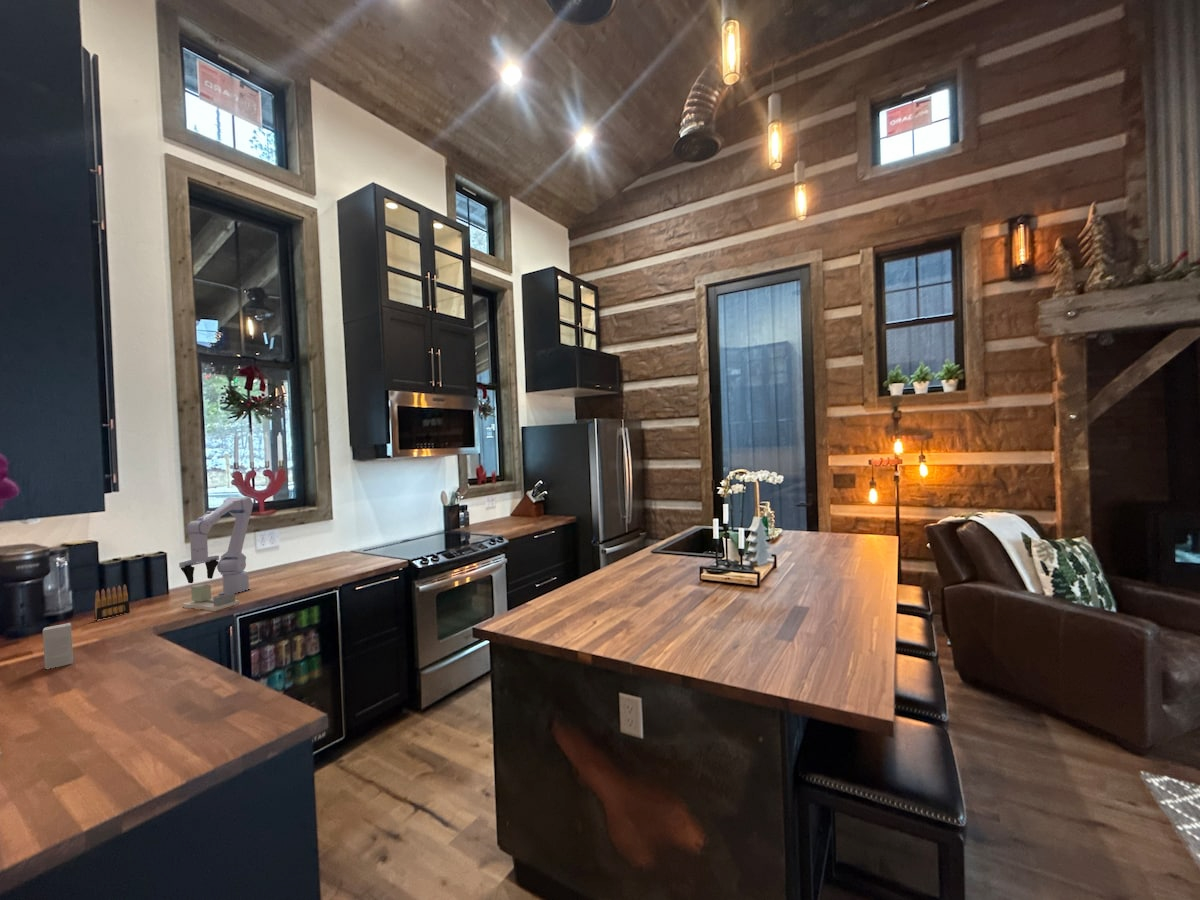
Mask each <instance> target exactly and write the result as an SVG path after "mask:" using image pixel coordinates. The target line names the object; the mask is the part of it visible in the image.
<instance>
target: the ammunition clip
mask: <svg viewBox="0 0 1200 900" xmlns="http://www.w3.org/2000/svg"><path fill="white" fill-rule="evenodd" d="M127 588H128V587H127V585H126V584H125V583H124V584H123V587H121V586H120V585H118V587H117V589H116V587H115V586H113V587H112V588H110V587H107V589H106V591H105V589H104V588H102V589H101V591H100V592H101V593H100V592H99V590H98V589H96V591H95V595H94V596H95V600H94V615H93V616H94V617H93V618H94V619H97V620H98V619H103V618H108V617H112V616H116V615H120V614H124V613H127V614H129V613H128V612H130V613H131V611H130V601H129V594H128V589H127ZM111 589H112V590H111ZM116 590H117V591H116ZM124 615H125V614H124ZM120 616H121V615H120ZM116 617H117V616H116ZM112 618H113V617H112ZM94 619H93V620H94ZM108 619H109V618H108Z"/></svg>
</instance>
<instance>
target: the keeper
mask: <svg viewBox="0 0 1200 900" xmlns="http://www.w3.org/2000/svg"><path fill="white" fill-rule="evenodd" d="M190 590H191V591H190V592H191V602H192V601H198V602H202V601H206V600H210V599H211V598H212V586H211V584H202V583H200V584H197V585H193V586H190Z"/></svg>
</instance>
